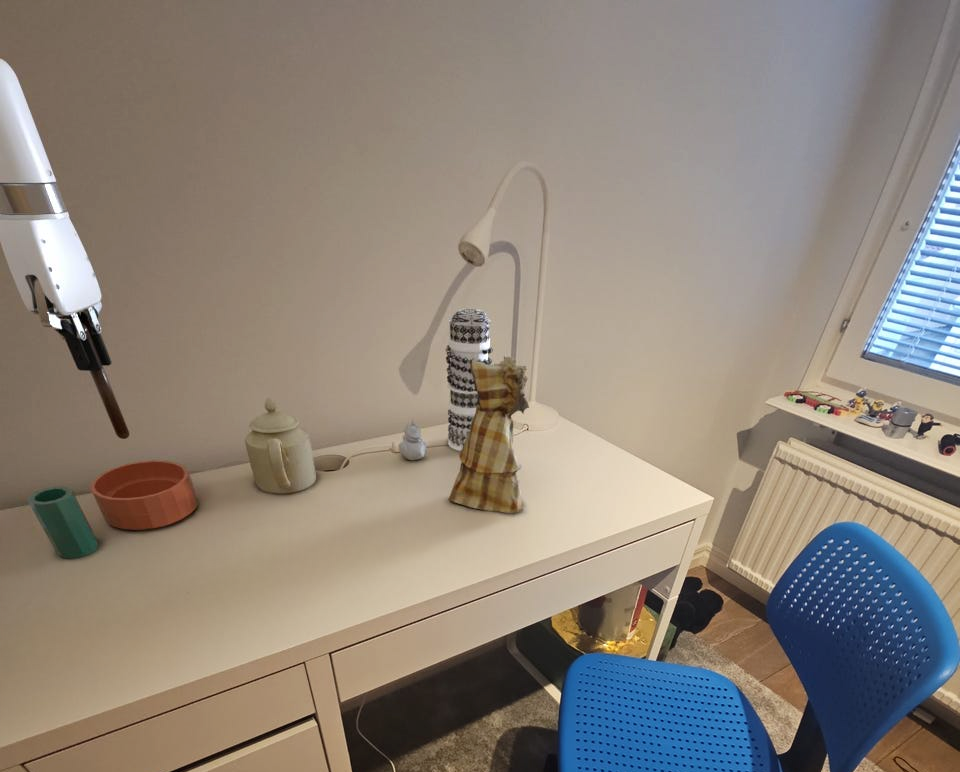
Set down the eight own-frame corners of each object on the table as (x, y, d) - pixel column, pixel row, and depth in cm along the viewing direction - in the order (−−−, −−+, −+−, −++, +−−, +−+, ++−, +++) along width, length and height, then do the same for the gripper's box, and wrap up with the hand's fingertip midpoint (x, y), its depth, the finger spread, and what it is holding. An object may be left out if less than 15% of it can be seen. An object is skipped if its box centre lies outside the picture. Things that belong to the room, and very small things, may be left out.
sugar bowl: (338, 490, 102) (325, 406, 92) (282, 508, 96) (262, 421, 86) (299, 463, 110) (283, 383, 100) (245, 478, 105) (223, 395, 95)
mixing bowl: (88, 532, 89) (71, 497, 85) (132, 491, 99) (118, 458, 95) (177, 535, 89) (164, 501, 85) (211, 494, 100) (201, 461, 96)
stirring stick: (116, 440, 85) (67, 324, 74) (122, 436, 86) (74, 321, 76) (127, 440, 85) (80, 324, 74) (133, 436, 86) (87, 321, 76)
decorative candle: (475, 432, 125) (478, 304, 108) (497, 447, 119) (504, 314, 102) (439, 439, 121) (436, 308, 104) (459, 455, 115) (460, 319, 99)
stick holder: (50, 558, 83) (18, 503, 77) (70, 539, 87) (42, 485, 81) (86, 559, 83) (58, 504, 77) (105, 540, 87) (79, 487, 81)
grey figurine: (406, 465, 111) (404, 425, 105) (394, 453, 115) (391, 414, 110) (431, 461, 113) (430, 421, 107) (418, 449, 117) (416, 410, 112)
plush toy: (468, 466, 109) (465, 335, 88) (537, 479, 106) (550, 347, 86) (445, 513, 101) (436, 381, 81) (519, 528, 99) (528, 396, 78)
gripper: (37, 196, 72) (99, 351, 85) (-53, 207, 61) (34, 384, 73) (94, 198, 72) (148, 352, 85) (16, 208, 61) (91, 386, 73)
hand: (95, 366), depth 79 cm, fingers closed on stirring stick, 1 cm apart
